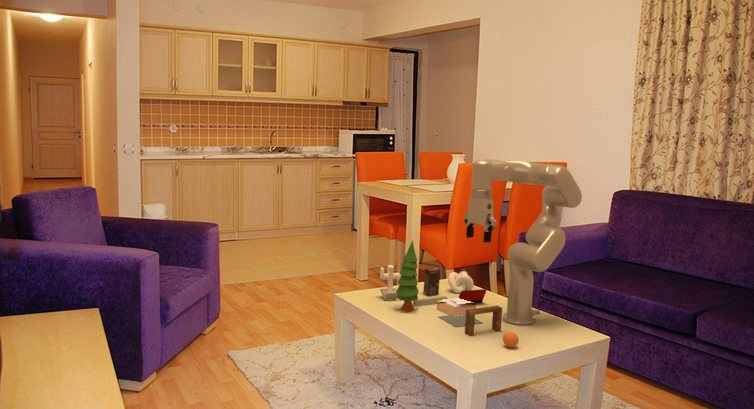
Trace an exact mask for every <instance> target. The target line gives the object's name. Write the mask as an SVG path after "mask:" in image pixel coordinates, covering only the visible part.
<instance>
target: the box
mask: <svg viewBox="0 0 754 409" xmlns="http://www.w3.org/2000/svg"><path fill="white" fill-rule="evenodd" d="M440 281H441V269H440V268H437V267H429V268H428V267H427V268H425V269H424V280H423V290H422V291H423V295H424V296H427V297H432V296H439V291H440Z"/></svg>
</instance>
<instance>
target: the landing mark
mask: <svg viewBox="0 0 754 409" xmlns="http://www.w3.org/2000/svg"><path fill="white" fill-rule="evenodd" d="M451 315H452V314H448V315H440V316H437V318H439V319H440V320H442V321H444V322H445V323H448V324H449V325H450V326H452V327H455V328H460V327H465V321H466V315H463V316H458V317H457V316H456V317H454V316H451ZM481 324H484V322H483V321H481V320H480V319H477V318H475V325H481Z"/></svg>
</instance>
